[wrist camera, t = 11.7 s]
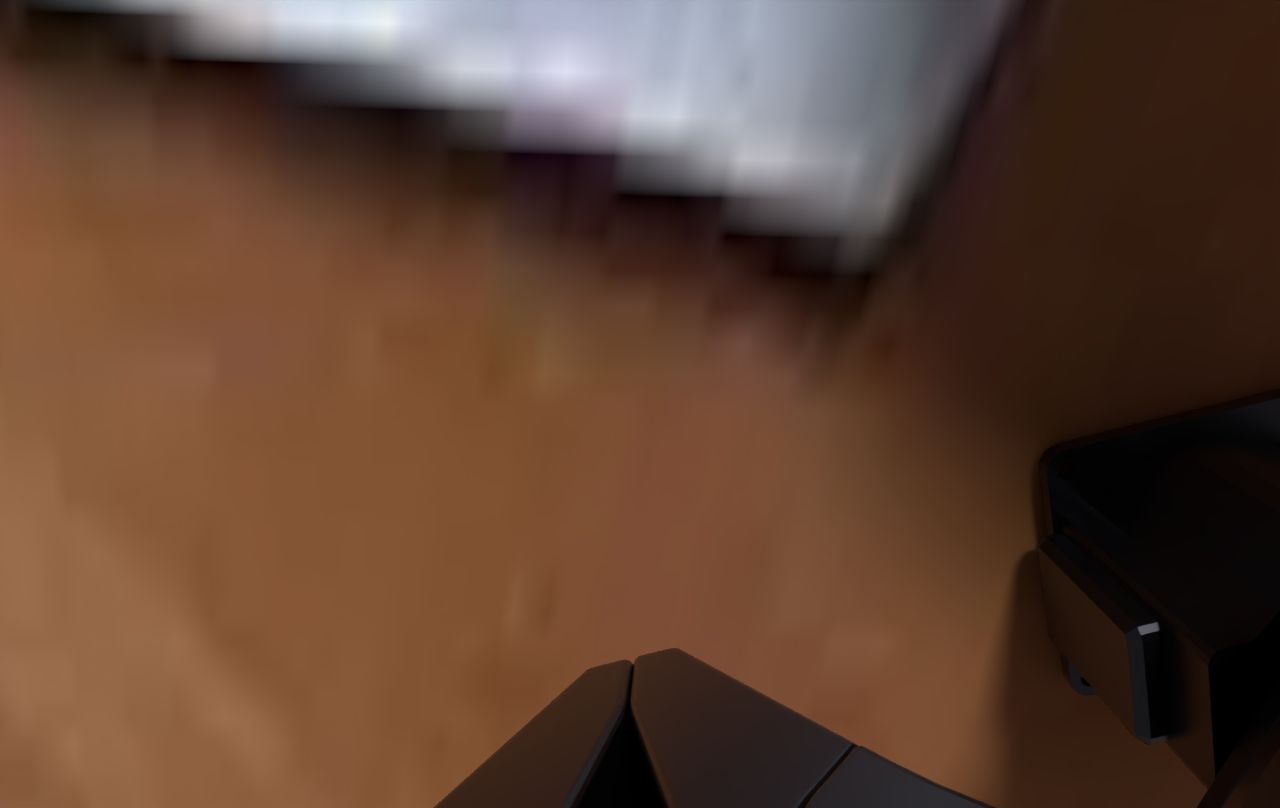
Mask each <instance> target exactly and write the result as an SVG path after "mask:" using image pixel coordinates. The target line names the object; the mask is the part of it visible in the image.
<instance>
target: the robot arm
mask: <svg viewBox="0 0 1280 808" xmlns="http://www.w3.org/2000/svg"><path fill="white" fill-rule="evenodd" d="M1066 460H1072V462H1071V467H1070V468H1069V469H1068V471H1067V472H1065V473H1063V474H1058V473H1057V472H1058V467H1059V466H1060V465H1061V463H1062V462H1064V461H1066ZM1039 474H1040V483H1041V491H1042V500H1043V508H1044V517H1045V525H1046V534H1047V536H1045V537H1044V538H1043V539H1042V541H1041V543H1040V545H1039V547H1038V554H1039V563H1040V571H1041V579H1042V587H1043V595H1044V603H1045V612H1046V620H1047V628H1048V635H1049V637H1050V639H1051V640H1052V641H1053V642H1054V643H1055V645H1056V646H1057V647H1058V648H1059V649H1060V652H1061V660H1062V669H1063V674H1064V677H1065V679H1066V681H1067V682H1068V683H1069V684H1070V685H1071V687H1072V688H1073V689H1074V690H1075V691H1076V692H1077V693H1079V694H1083V695H1094V694H1098V695H1099V696H1100V697H1101V699H1102V700H1103V701H1104V702H1105V703H1106V705H1107V706H1108V707H1109V708H1110V709H1111V710H1112V712H1113V713H1114V714H1115V715H1116V716H1117V717H1118V719H1119V720H1120V721H1121V722H1122V723H1123V725H1124V726H1125V727H1126V728H1127V729H1128V730H1129V732H1130V733H1131V734H1132V735H1133V736H1134V737H1135V738H1137V739H1139V740H1140V741H1142V742H1144V743H1145V744H1147V745H1150V744H1154V743H1158V742H1162V741H1165V742H1166V743H1167V744H1168V745H1169V747H1170V748H1171V749H1172V750H1173V751H1174V752H1175V753H1176V754H1177V755H1178V757H1179V758H1180V759H1181V760H1182V761H1183V762H1184V763H1185V764H1186V766H1187V767H1188V768H1189V769H1190V770H1191V771H1192V772H1193V773H1194V775H1195V776H1196V777H1197V778H1198V779H1199V780H1200V781H1201V782H1202V784H1203V785H1204V786H1205V787H1206V788H1207V789H1208V791H1207V792H1206V794H1205V795H1204V797H1203V799H1202V800H1201V802H1200V803H1199V805H1198V807H1197V808H1280V389H1279V390H1275V391H1271V392H1267V393H1263V394H1259V395H1255V396H1251V397H1247V398H1242V399H1238V400H1234V401H1230V402H1226V403H1222V404H1218V405H1214V406H1210V407H1206V408H1202V409H1197V410H1193V411H1189V412H1185V413H1181V414H1177V415H1173V416H1169V417H1165V418H1161V419H1157V420H1152V421H1148V422H1144V423H1140V424H1136V425H1132V426H1128V427H1124V428H1120V429H1116V430H1112V431H1107V432H1103V433H1099V434H1095V435H1091V436H1087V437H1083V438H1079V439H1075V440H1071V441H1067V442H1062V443H1058V444H1056V445H1054V446H1051V447H1050V448H1049V449H1048V450H1046V451H1045V452H1044V453H1043V455H1042V457H1041V459H1040V462H1039ZM1081 675H1082V676H1083V677H1081ZM434 808H995V807H993V806H991V805H988V804H986V803H983V802H981V801H978V800H976V799H974V798H971V797H969V796H966V795H964V794H961V793H959V792H957V791H954V790H952V789H949V788H947V787H944V786H942V785H939V784H937V783H935V782H933V781H931V780H929V779H927V778H925V777H923V776H921V775H919V774H916V773H914V772H912V771H910V770H908V769H906V768H904V767H902V766H900V765H898V764H896V763H894V762H892V761H890V760H888V759H886V758H884V757H882V756H880V755H879V754H877V753H875V752H873V751H871V750H869V749H867V748H866V747H863V746H858V745H856V744H855V743H853V742H851V741H849V740H847V739H845V738H843V737H842V736H840V735H838V734H836V733H834V732H832V731H830V730H829V729H827V728H825V727H823V726H821V725H819V724H818V723H816V722H814V721H812V720H810V719H808V718H806V717H805V716H803V715H801V714H799V713H797V712H795V711H793V710H792V709H790V708H788V707H786V706H784V705H782V704H780V703H779V702H777V701H775V700H773V699H771V698H769V697H767V696H766V695H764V694H762V693H760V692H758V691H756V690H754V689H753V688H751V687H749V686H747V685H745V684H743V683H741V682H740V681H738V680H736V679H734V678H732V677H730V676H728V675H727V674H725V673H723V672H721V671H719V670H717V669H715V668H714V667H712V666H710V665H708V664H706V663H704V662H703V661H701V660H699V659H697V658H695V657H693V656H691V655H690V654H688V653H686V652H684V651H682V650H680V649H677V648H671V649H667V650H662V651H658V652H654V653H650V654H646V655H641V656H639V657H637V659H636V660H635V662H634V665H633V664H632V663H631V662H630V661H629V660H621V661H617V662H613V663H609V664H605V665H601V666H597V667H593V668H590V669H588V670H587V671H586V672H584V673H583V674H582V675H581V676H580V677H579V678H578V679H577V680H576V681H574V682H573V683H572V684H571V685H570V686H569V687H568V688H567V689H566V690H564V691H563V692H562V693H561V694H560V695H559V696H558V697H557V698H555V699H554V700H553V701H552V702H551V703H550V704H549V705H548V706H547V707H545V708H544V709H543V710H542V711H541V712H540V713H539V714H538V715H536V716H535V717H534V718H533V719H532V720H531V721H530V722H529V723H528V724H526V725H525V726H524V727H523V728H522V729H521V730H520V731H519V732H518V733H516V734H515V735H514V736H513V737H512V738H511V739H510V740H509V741H507V742H506V743H505V744H504V745H503V746H502V747H501V748H500V749H499V750H497V751H496V752H495V753H494V754H493V755H492V756H491V757H490V758H489V759H487V760H486V761H485V762H484V763H483V764H482V765H481V766H480V767H478V768H477V769H476V770H475V771H474V772H473V773H472V774H471V775H470V776H468V777H467V778H466V779H465V780H464V781H463V782H462V783H461V784H460V785H458V786H457V787H456V788H455V789H454V790H453V791H452V792H451V793H449V794H448V795H447V796H446V797H445V798H444V799H443V800H442V801H441V802H439V803H438V804H437V805H436V806H435V807H434Z"/></svg>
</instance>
